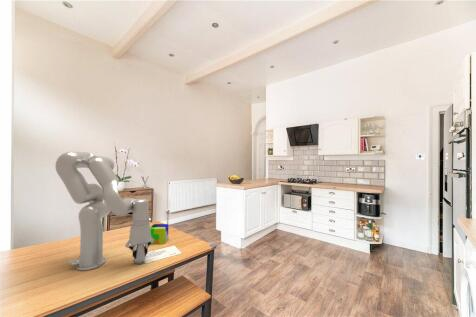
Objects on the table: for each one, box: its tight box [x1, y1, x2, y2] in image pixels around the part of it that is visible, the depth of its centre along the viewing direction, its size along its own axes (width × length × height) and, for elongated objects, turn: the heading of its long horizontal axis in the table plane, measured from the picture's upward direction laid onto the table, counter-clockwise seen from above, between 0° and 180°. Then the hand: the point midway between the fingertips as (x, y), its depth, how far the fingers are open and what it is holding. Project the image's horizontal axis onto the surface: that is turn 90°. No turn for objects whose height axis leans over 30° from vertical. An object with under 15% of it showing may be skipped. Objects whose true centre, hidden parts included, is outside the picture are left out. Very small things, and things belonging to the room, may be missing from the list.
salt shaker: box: [133, 244, 146, 265], centre depth 107 cm, size 6×6×13 cm
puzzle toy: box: [150, 223, 169, 245], centre depth 135 cm, size 10×10×10 cm
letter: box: [143, 245, 182, 264], centre depth 117 cm, size 20×13×1 cm, turn 126°
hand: (140, 256), depth 107 cm, fingers open, 4 cm apart
